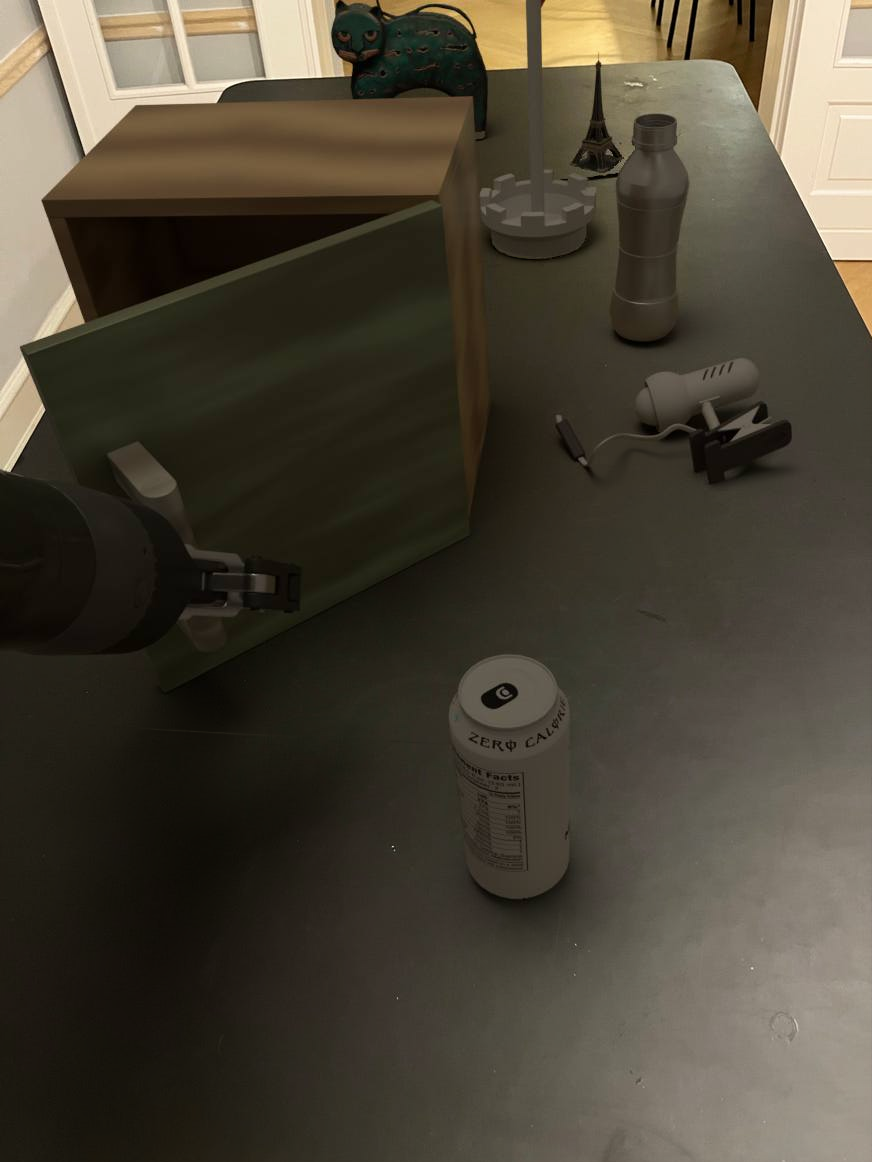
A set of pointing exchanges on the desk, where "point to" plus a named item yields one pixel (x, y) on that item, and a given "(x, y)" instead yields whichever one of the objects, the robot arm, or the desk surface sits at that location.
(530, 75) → the flag stand
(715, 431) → the clip-on lamp
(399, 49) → the ceramic cat
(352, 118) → the cupboard
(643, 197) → the plastic bottle
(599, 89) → the eiffel tower figurine
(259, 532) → the cupboard door
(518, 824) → the energy drink can
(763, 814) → the desk surface
